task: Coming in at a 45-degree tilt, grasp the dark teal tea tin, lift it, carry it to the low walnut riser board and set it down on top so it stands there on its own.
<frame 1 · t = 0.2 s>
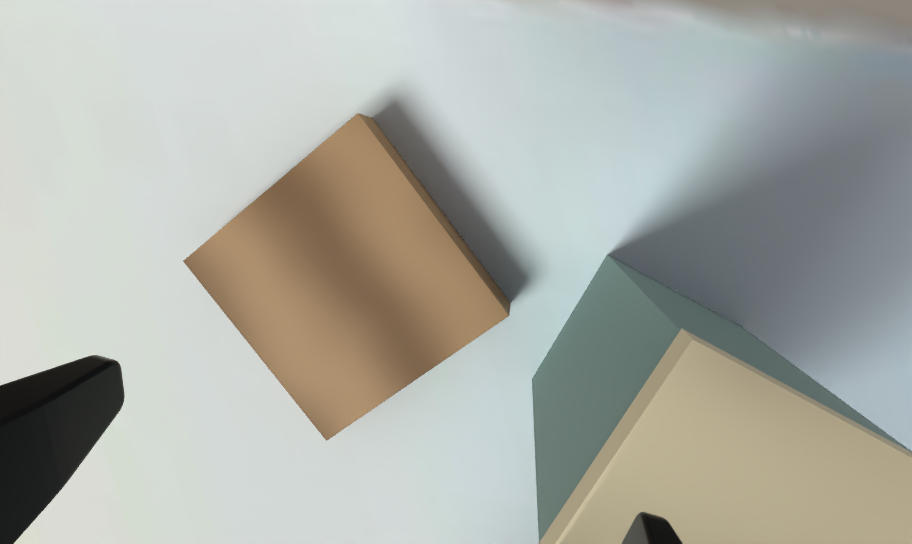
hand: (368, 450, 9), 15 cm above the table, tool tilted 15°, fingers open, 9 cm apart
riser: (359, 275, 25), on the table
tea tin: (633, 354, 24), on the table
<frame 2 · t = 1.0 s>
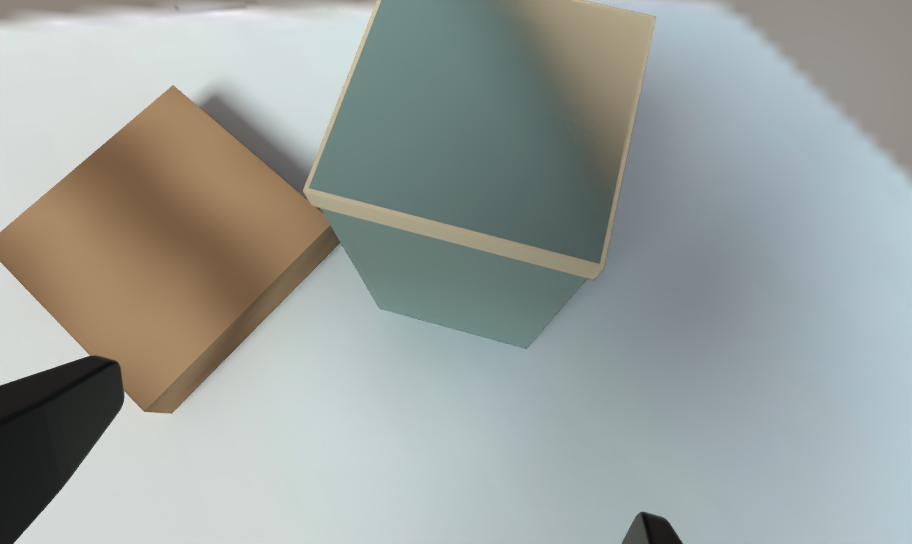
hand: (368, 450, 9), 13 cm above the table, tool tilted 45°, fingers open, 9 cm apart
riser: (188, 253, 25), on the table
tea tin: (471, 258, 24), on the table
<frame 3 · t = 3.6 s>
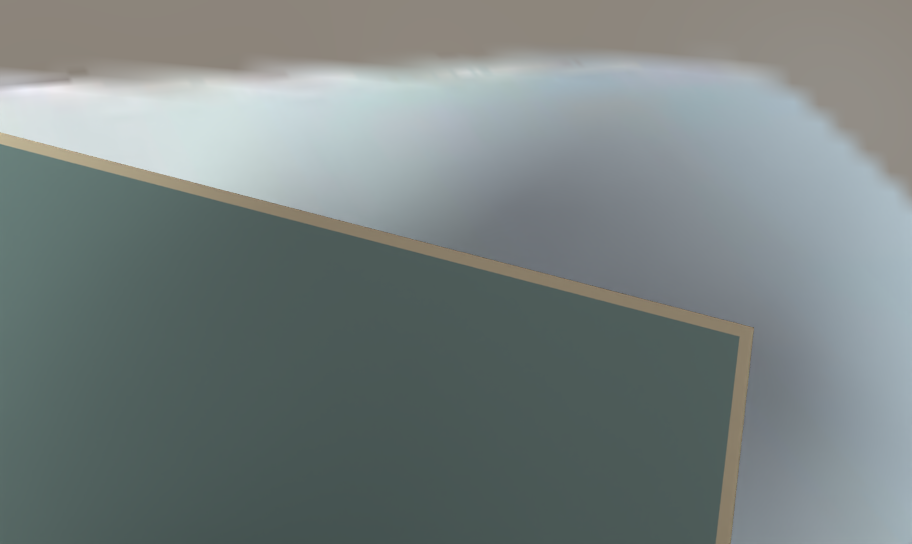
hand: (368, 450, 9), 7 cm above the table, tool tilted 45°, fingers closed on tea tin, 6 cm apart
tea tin: (387, 497, 15), on the table, touching gripper
when the fingers open (10 cm above the table, at t = 7.2 s): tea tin drops 2 cm, resting on riser.
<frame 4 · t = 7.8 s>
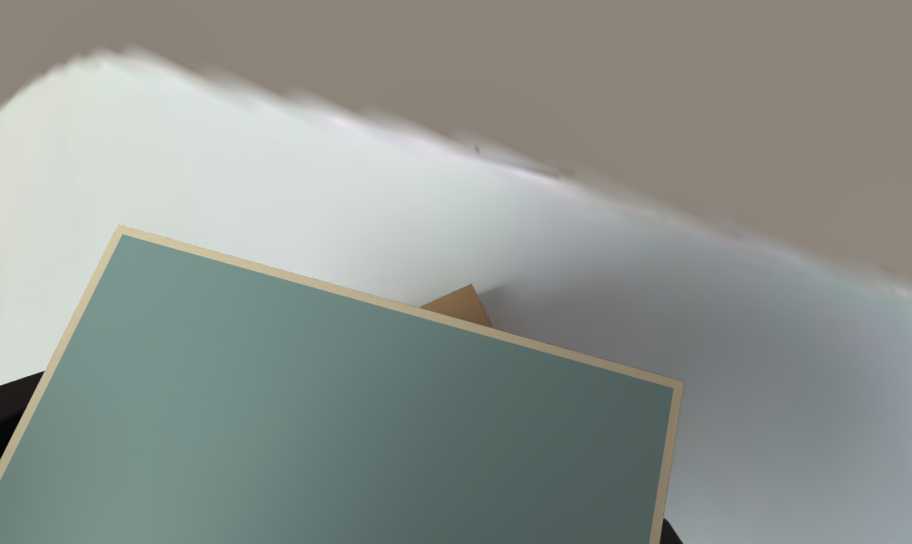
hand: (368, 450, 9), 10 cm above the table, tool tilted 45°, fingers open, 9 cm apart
riser: (401, 484, 19), on the table, touching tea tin
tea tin: (397, 497, 17), point 2 cm above the table, touching riser
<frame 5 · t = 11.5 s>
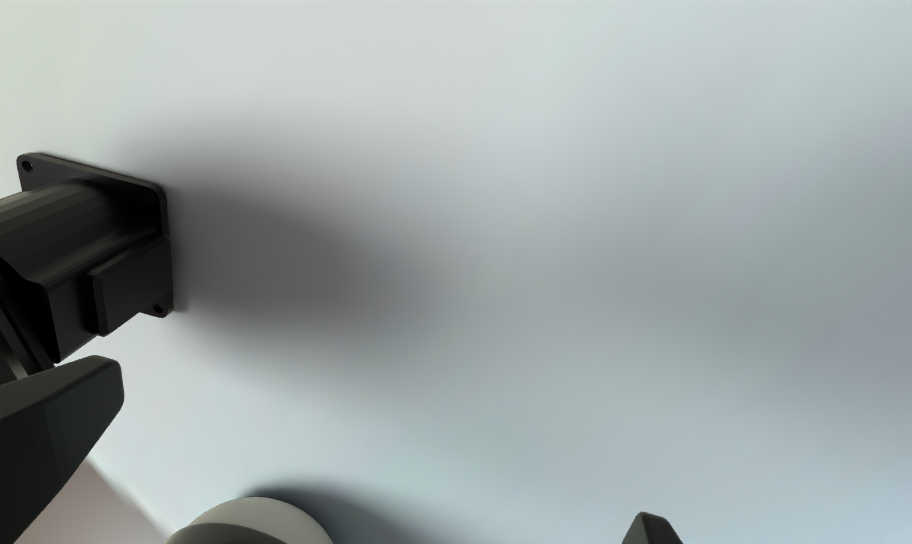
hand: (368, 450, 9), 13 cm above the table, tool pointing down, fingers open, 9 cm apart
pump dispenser: (282, 528, 32), on the table
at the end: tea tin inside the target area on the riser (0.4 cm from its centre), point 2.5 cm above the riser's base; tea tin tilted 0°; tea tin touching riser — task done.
